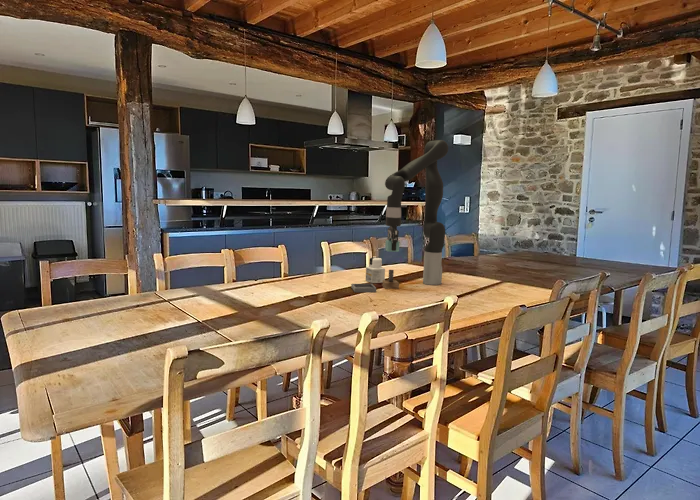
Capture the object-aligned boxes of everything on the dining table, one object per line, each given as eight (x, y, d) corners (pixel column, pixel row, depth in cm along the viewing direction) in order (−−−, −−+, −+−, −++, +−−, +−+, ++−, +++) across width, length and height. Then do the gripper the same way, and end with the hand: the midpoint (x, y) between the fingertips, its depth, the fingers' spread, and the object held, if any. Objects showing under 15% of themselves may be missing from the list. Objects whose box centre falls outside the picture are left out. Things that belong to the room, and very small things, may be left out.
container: (365, 280, 260) (366, 256, 258) (377, 279, 263) (378, 256, 262) (371, 283, 253) (372, 259, 251) (384, 282, 256) (385, 258, 255)
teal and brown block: (395, 286, 248) (396, 268, 247) (398, 288, 241) (399, 271, 240) (382, 286, 247) (383, 268, 246) (385, 288, 240) (386, 271, 239)
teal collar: (396, 250, 245) (396, 240, 244) (399, 251, 239) (399, 241, 239) (385, 249, 244) (385, 240, 244) (387, 251, 238) (388, 241, 238)
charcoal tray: (371, 287, 243) (372, 283, 242) (376, 292, 232) (376, 288, 232) (351, 287, 241) (351, 283, 241) (354, 292, 231) (354, 288, 230)
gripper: (404, 217, 233) (403, 251, 235) (397, 215, 247) (396, 248, 249) (389, 217, 232) (388, 251, 234) (383, 215, 246) (381, 247, 248)
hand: (392, 249), depth 242 cm, fingers closed on teal collar, 5 cm apart
